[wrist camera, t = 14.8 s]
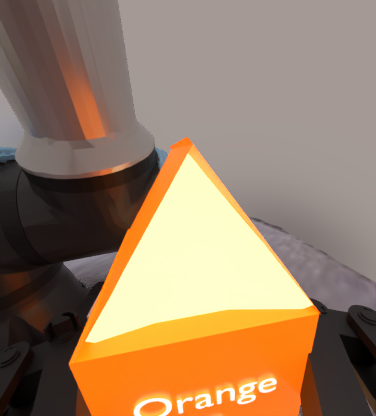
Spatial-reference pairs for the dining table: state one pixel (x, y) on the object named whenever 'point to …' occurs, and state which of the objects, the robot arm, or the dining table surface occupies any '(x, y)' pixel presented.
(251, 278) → the orange juice
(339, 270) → the dining table surface
